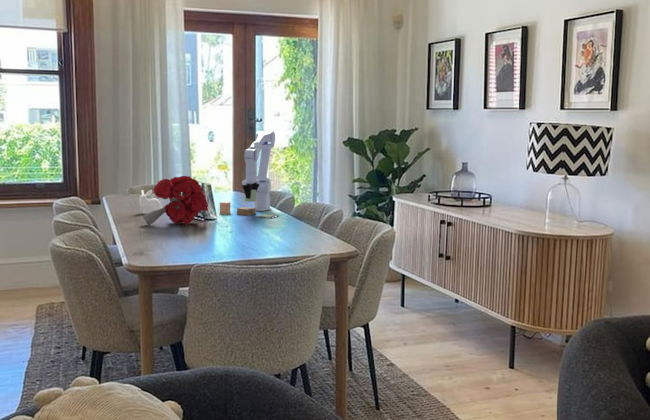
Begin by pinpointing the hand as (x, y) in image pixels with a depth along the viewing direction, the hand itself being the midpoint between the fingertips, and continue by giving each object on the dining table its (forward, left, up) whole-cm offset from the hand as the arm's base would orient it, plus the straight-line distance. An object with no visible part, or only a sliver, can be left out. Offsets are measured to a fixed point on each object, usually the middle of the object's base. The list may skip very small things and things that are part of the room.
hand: (250, 197), depth 339 cm
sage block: (0, 0, -2) cm, 2 cm away
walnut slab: (+1, -2, -9) cm, 9 cm away
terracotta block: (+6, -12, -9) cm, 16 cm away
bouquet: (+49, -11, -9) cm, 51 cm away
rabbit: (+28, -44, -9) cm, 53 cm away
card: (+3, +12, -9) cm, 15 cm away
